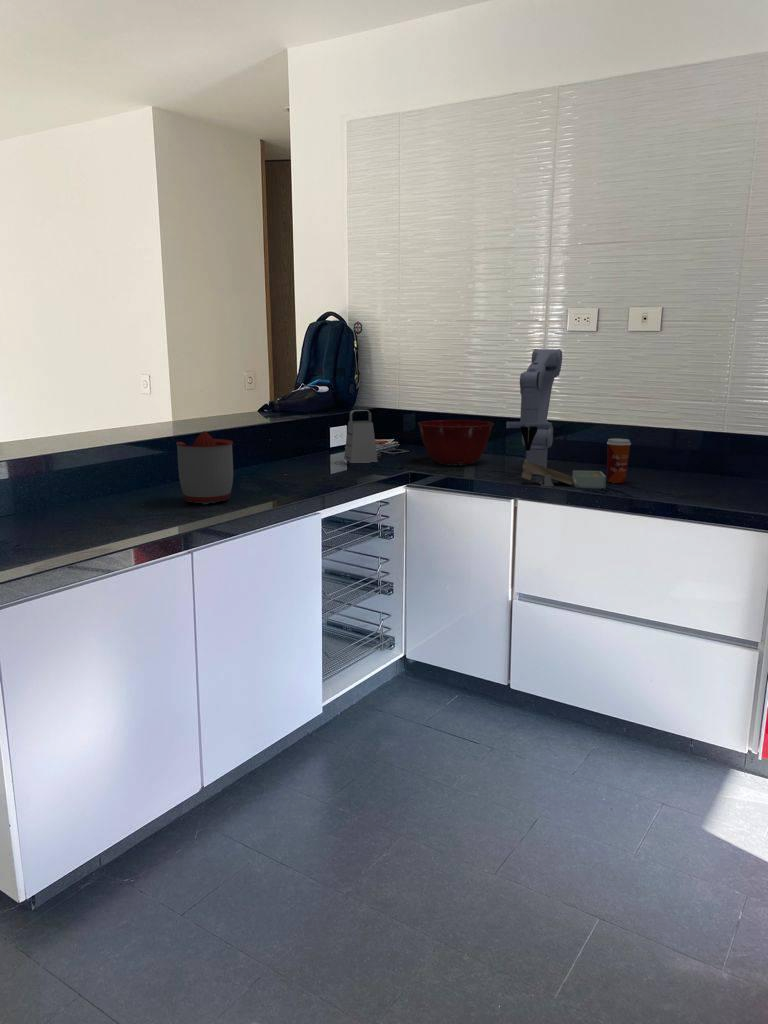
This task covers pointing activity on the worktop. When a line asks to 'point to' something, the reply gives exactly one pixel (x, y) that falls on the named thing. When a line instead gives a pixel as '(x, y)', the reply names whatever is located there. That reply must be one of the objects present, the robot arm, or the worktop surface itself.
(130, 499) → the worktop surface
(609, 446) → the paper cup
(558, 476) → the wooden ramp
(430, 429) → the mixing bowl
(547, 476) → the stand
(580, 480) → the tray
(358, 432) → the grater
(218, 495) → the citrus juicer
